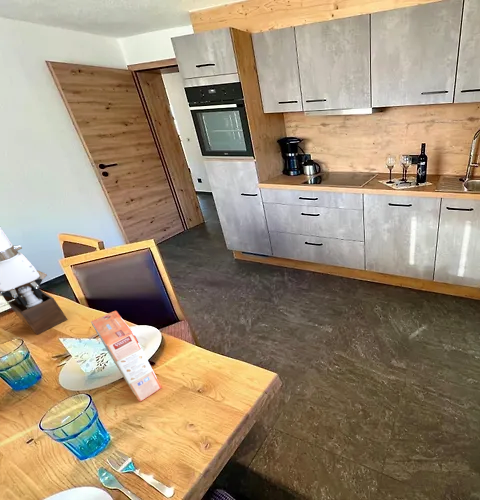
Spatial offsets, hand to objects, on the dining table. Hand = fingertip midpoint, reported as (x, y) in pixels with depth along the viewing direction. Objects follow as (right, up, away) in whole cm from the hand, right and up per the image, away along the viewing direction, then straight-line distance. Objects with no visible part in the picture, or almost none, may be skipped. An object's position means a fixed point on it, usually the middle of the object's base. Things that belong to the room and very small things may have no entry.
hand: (32, 300), depth 100 cm
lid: (-6, +6, 0) cm, 9 cm away
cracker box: (+51, -20, -18) cm, 58 cm away
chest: (-2, -9, +7) cm, 11 cm away
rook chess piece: (0, -2, +1) cm, 3 cm away
